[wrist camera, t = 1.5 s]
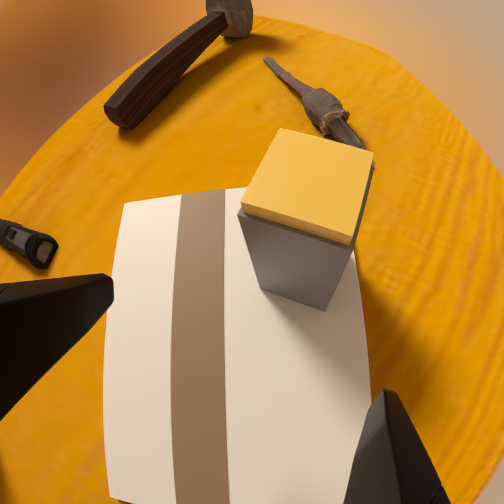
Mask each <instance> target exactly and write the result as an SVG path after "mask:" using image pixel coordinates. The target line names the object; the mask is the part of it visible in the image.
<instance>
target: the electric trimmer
mask: <svg viewBox="0 0 504 504" xmlns="http://www.w3.org/2000/svg"><path fill="white" fill-rule="evenodd" d="M0 243H1V244H2V245H3V246H4V247H6V248H7V249H8V250H12V249H13V250H14V251H16V252H17V253H19V254H20V255H22V256H23V257H25V258H26V259H28V260H29V262H30V263H31V264H32V265H33V266H35V267H37V268H40V269H47V268H48V267H49V264H50V262H51V260H52V258H53V256H54V254H55V252H56V250H57V248H58V244H57V242H56V241H55V239H53V238H52V237H51V236H49V235H47V234H44V233H40V232H37V231H34V230H31V229H28V228H25V227H22V225H20V224H18V223H14V222H10V221H6V220H3V219H0Z"/></svg>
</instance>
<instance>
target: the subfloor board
mask: <svg viewBox="0 0 504 504" xmlns="http://www.w3.org/2000/svg"><path fill="white" fill-rule="evenodd" d="M247 188H248V187H244V188H234V189H221V190H212V191H204V192H196V193H188V194H182V195H176V196H169V197H162V198H155V199H149V200H142V201H136V202H130V203H125V204H124V209H123V214H122V219H121V224H120V229H119V234H118V239H117V245H116V251H115V257H114V264H113V270H112V277H111V278H112V279H113V282H114V301H113V303H112V305H111V306H110V307H109V308H108V311H107V322H106V335H105V350H104V375H103V417H104V441H105V455H106V467H107V477H108V485H109V493H110V497H112V498H115V499H118V500H122V501H125V502H129V503H133V504H343V502H344V498H345V494H346V490H347V486H348V481H349V477H350V472H351V468H352V463H353V459H354V455H355V452H356V449H357V445H358V442H359V439H360V436H361V432H362V429H363V425H364V422H365V418H366V414H367V412H368V409H369V407H370V406H371V388H370V373H369V361H368V350H367V340H366V331H365V323H364V315H363V307H362V300H361V293H360V286H359V279H358V273H357V267H356V261H355V256H354V250H353V252H352V254H351V256H350V259H349V261H348V263H347V266H346V268H345V270H344V272H343V275H342V277H341V279H340V281H339V283H338V286H337V288H336V290H335V292H334V294H333V296H332V299H331V301H330V303H329V305H328V307H327V309H326V311H325V312H324V311H321V310H318V309H315V308H312V307H309V306H306V305H304V304H301V303H298V302H295V301H292V300H290V299H287V298H284V297H281V296H279V295H276V294H273V293H270V292H268V291H265V290H262V289H260V287H259V284H258V281H257V277H256V274H255V271H254V268H253V265H252V261H251V258H250V255H249V252H248V249H247V245H246V242H245V239H244V236H243V232H242V229H241V226H240V223H239V220H238V216H237V214H238V212H239V210H240V208H241V202H240V201H241V199H242V197H243V196H244V194H245V192H246V190H247Z"/></svg>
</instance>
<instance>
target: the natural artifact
mask: <svg viewBox="0 0 504 504" xmlns="http://www.w3.org/2000/svg"><path fill="white" fill-rule="evenodd" d="M263 61H264V62H265V63H266V64H267V65H268V66H269V67H270V68H271V69H272V70H273V72H274V74H275V75H276V76H278V77H280V78H281V79H282V80H283V81H284V82H286V83H287V84H288V85H290V86H291V87H292V88H293V89H295V90H296V91H297V92H298V93H299V94H300V95H301V97H302V99H301V102H302V104H303V106H304V109H305V112H306V114H307V116H308V118H309V119H310V120H311V121H312V122H313V123H314V124H315V125H316V126H318V127H319V128H320V130H321V131H322V135H323V136H325V135H329V134H332V135H333V137H334V138H335V139H336V140H337V141H338V142H339V143H343V144H346V145H350V146H353V147H357V148H360V149H363V150H367V149H366V146H364V144H363V142H362V141H360V140H359V138H358V137H357V135H356V134H355V133H354V132H353V130H352V129H351V128H350V127H349V126H348V124H347V123H346V121H347V120H348V117H349V115H350V113H349V112H348V111H345V110H344V109H343V108H342V104H341V103H340V101H339V100H338V99H337V98H336V97H335V96H333V95H332V94H331V93H329V92H327V91H326V90H325V89H323V88H319V89H314V88H312V87H310V86H308V85H306V84H304V83H302V82H301V81H299V80H298V79H296V78H294V77H293V76H292V75H291V74H290V73H289V72H286V71H285V70H284V69H283V68H281V67H280V66H279V65H278V64H277V63H276V62H275V61H274V60H273V59H272V58H271V57H269V56H268V57H265V58H264V59H263Z"/></svg>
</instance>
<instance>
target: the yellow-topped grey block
mask: <svg viewBox="0 0 504 504" xmlns="http://www.w3.org/2000/svg"><path fill="white" fill-rule="evenodd" d="M373 154H374V153H373V152H370V151H367V150H363V149H360V148H357V147H353V146H350V145H346V144H343V143H339V142H336V141H332V140H328V139H324V138H321V137H317V136H313V135H308V134H304V133H300V132H296V131H291V130H287V129H282V128H280V129H279V130H278V132H277V134H276V136H275V138H274V140H273V141H272V143H271V145H270V147H269V149H268V151H267V152H266V154H265V156H264V158H263V160H262V162H261V164H260V165H259V167H258V169H257V171H256V173H255V175H254V177H253V178H252V180H251V182H250V184H249V186H248V188H247V190H246V192H245V194H244V196H243V197H242V199H241V201H240V202H241V208H240V210H239V212H238V214H237V216H238V220H239V223H240V226H241V229H242V232H243V236H244V239H245V242H246V245H247V249H248V252H249V255H250V258H251V261H252V265H253V268H254V271H255V274H256V277H257V281H258V284H259V287H260V289H262V290H265V291H268V292H270V293H273V294H276V295H279V296H281V297H284V298H287V299H290V300H292V301H295V302H298V303H301V304H304V305H306V306H309V307H312V308H315V309H318V310H321V311H324V312H325V311H326V309H327V307H328V305H329V303H330V301H331V299H332V296H333V294H334V292H335V290H336V288H337V286H338V283H339V281H340V279H341V277H342V275H343V272H344V270H345V268H346V266H347V263H348V261H349V259H350V256H351V254H352V252H353V248H354V245H355V241H356V238H357V234H358V231H359V227H360V223H361V220H362V216H363V212H364V208H365V204H366V200H367V196H368V192H369V188H370V184H371V179H372V175H373V170H374V166H375V162H372V159H373Z"/></svg>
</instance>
